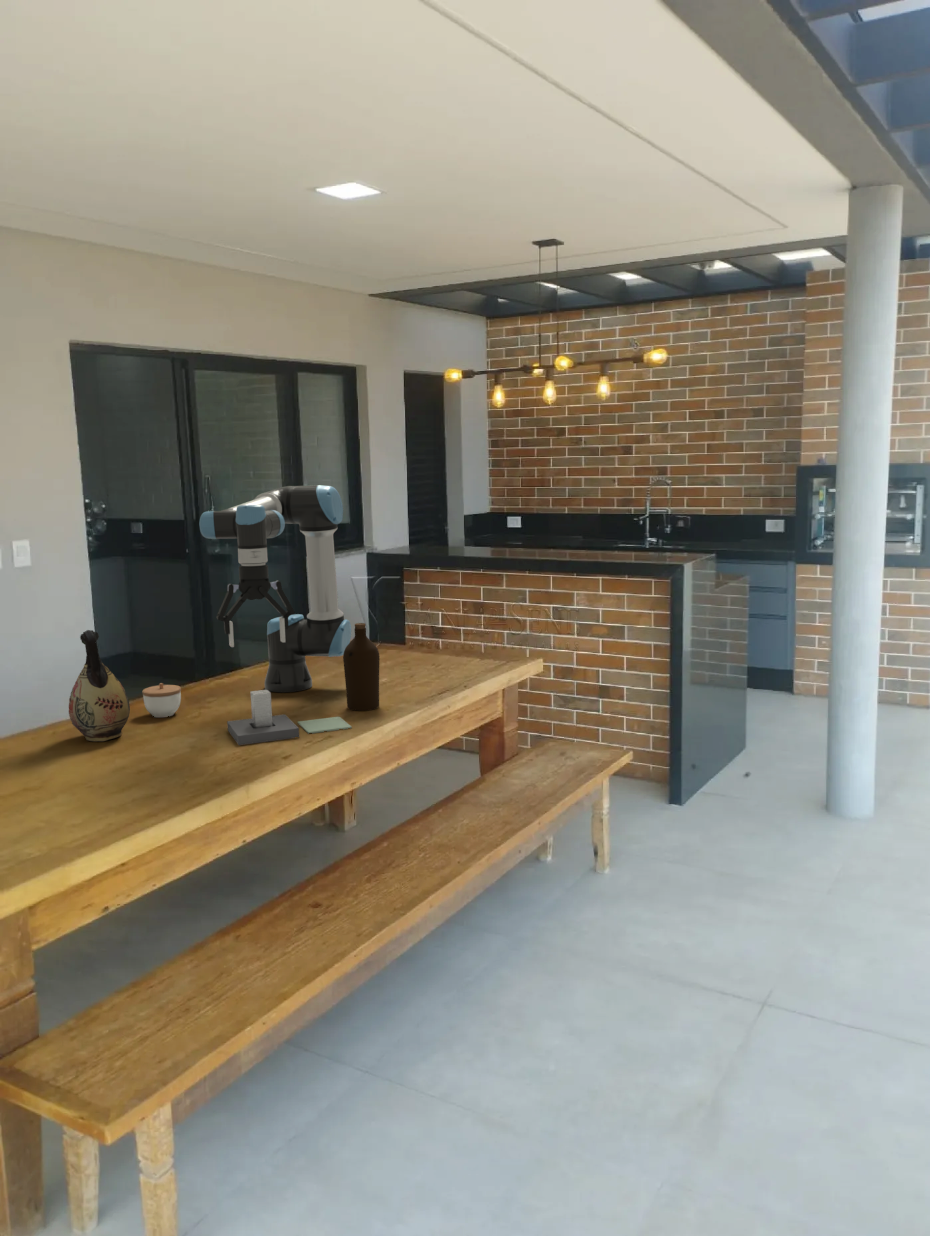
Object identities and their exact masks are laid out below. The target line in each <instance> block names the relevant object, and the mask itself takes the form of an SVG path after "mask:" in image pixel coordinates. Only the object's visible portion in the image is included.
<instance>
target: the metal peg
mask: <svg viewBox="0 0 930 1236" xmlns="http://www.w3.org/2000/svg"><path fill="white" fill-rule="evenodd" d="M250 705H251V706H250V707H251V718H252V726H253V729H256V728H264V727H272V726H273V725H272V716H273V709H272V692H271V691H268V690H265V689H262V690H261V689H259V690H251V691H250Z"/></svg>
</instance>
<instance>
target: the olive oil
mask: <svg viewBox="0 0 930 1236" xmlns="http://www.w3.org/2000/svg"><path fill="white" fill-rule="evenodd" d="M342 656H343V657H342V662H343V670H344V671H343V672H344V679H345V692H346V705H347V709H349V710H350V711H357V712H359V711H361V712H362V711H365V712H367V711H372V710H375V709H378V708H379V707H380V659H381V658H380V651H379V649H378V647H377V646H376V644H375V643H374V642H372V640H370V638H368V636H367V628H366V623H364V622H357V623H354V637H353V638H352V639H351V640H350V643H349V644H348V645H347V647H346V648H345V650H344V654H343V655H342Z"/></svg>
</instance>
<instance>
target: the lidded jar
mask: <svg viewBox="0 0 930 1236" xmlns="http://www.w3.org/2000/svg"><path fill="white" fill-rule="evenodd" d="M181 691H182V688H181V686H179V685H175V684H164V683H163V682H160V683H159V684H158V685H151V686H149V687H146V688H143V690H142V692H141V693H142V698H143V704H144V707H145V709H146V711H147V713H149V714H150V715H152V717H153V716H154V717H153V718H167V717H168V716H169V717H172V716H174V715H175V713H176V712H177V711H178V709H179V707H180V705H181V701H182V694H181Z"/></svg>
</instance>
